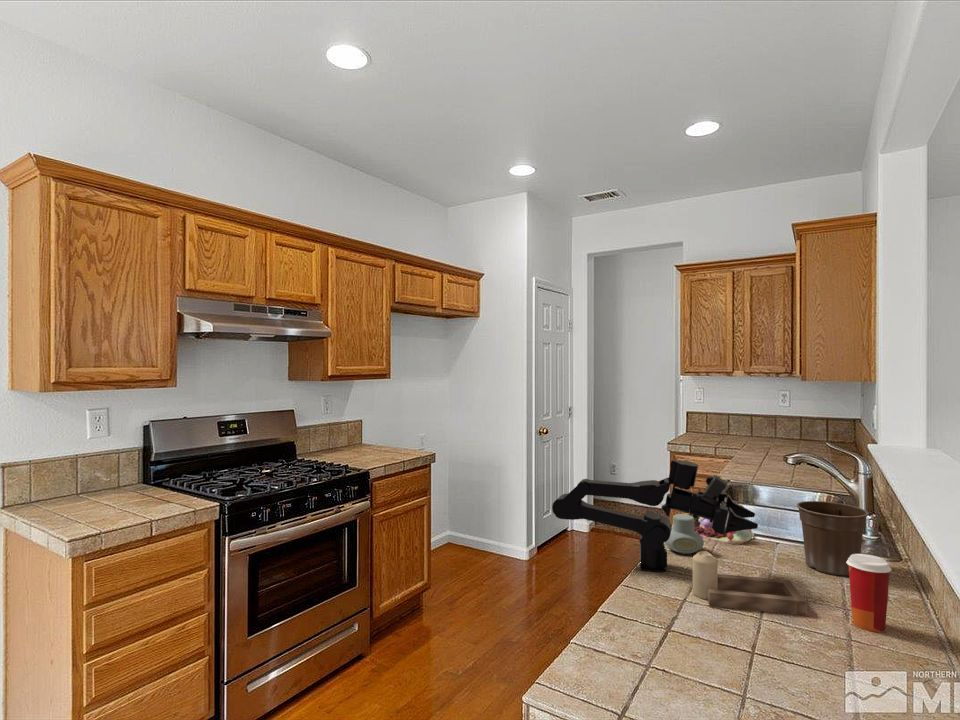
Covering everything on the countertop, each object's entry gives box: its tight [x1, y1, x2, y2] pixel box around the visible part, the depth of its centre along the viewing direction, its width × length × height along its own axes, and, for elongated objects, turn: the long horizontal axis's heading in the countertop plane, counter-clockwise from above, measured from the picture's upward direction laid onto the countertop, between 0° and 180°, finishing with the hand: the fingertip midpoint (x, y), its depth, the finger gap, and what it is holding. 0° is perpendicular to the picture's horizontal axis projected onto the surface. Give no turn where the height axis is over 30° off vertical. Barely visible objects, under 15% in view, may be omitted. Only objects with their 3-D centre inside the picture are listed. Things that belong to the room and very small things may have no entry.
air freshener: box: [664, 513, 705, 555], centre depth 160 cm, size 11×8×10 cm
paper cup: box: [846, 553, 892, 633], centre depth 115 cm, size 8×8×14 cm
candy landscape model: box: [671, 512, 755, 545], centre depth 179 cm, size 25×24×9 cm
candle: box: [692, 550, 719, 600], centre depth 130 cm, size 6×6×10 cm
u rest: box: [707, 573, 808, 616], centre depth 127 cm, size 20×12×3 cm, turn 76°
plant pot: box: [796, 500, 869, 576], centre depth 146 cm, size 16×16×16 cm
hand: (756, 520), depth 137 cm, fingers open, 9 cm apart
